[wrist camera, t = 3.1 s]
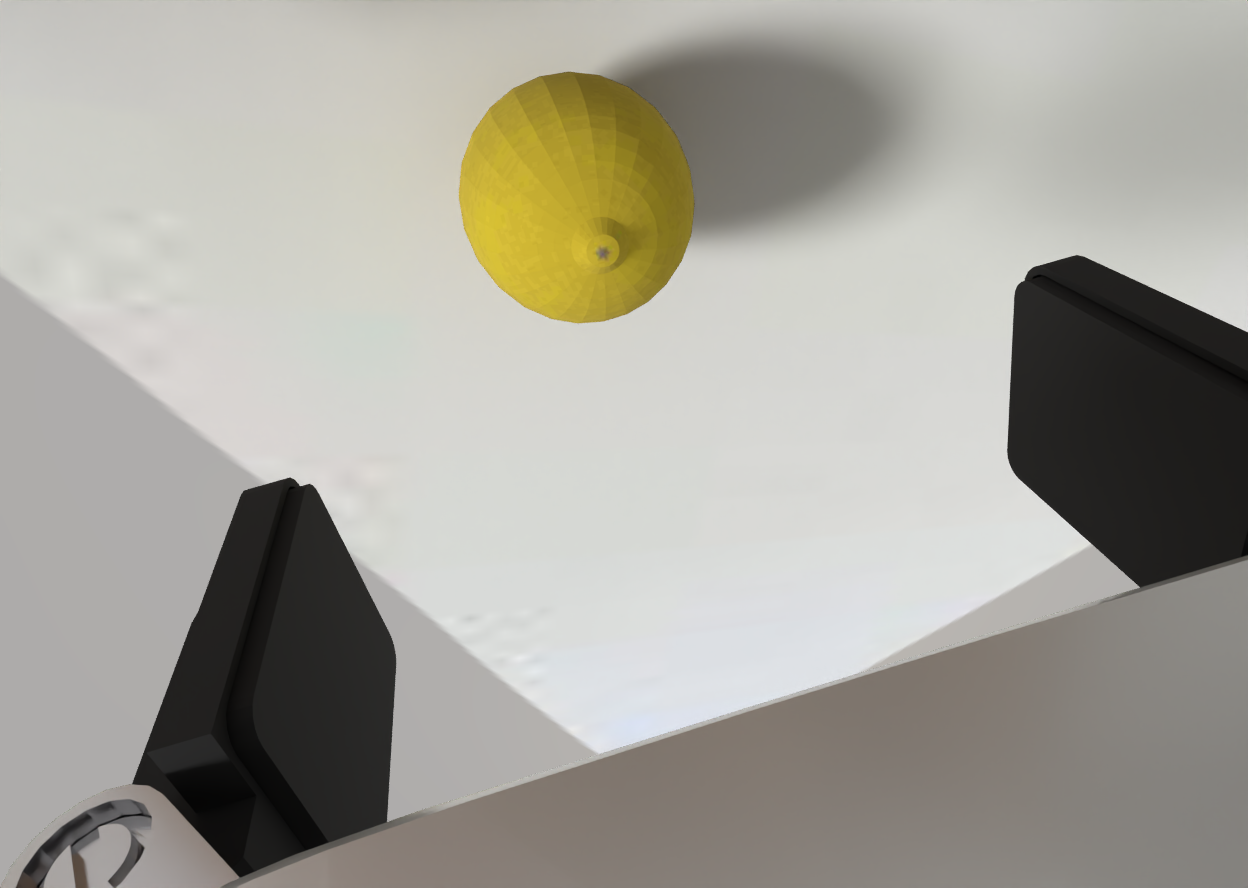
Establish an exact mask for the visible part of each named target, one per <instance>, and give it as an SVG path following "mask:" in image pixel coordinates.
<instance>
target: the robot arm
mask: <svg viewBox="0 0 1248 888" xmlns="http://www.w3.org/2000/svg"><path fill="white" fill-rule="evenodd" d="M1007 452H1008V459H1009V463H1010V466H1011V468H1012V470H1013V472H1014V473H1015V475H1016V476H1017V477H1018V478H1019V479H1020V480H1021V481H1022V482H1023V483H1024V484H1025V485H1027V486H1028V487H1029V488H1030V489H1031V490H1032V491H1033V492H1034V493H1035V494H1037V495H1038V496H1039V497H1040V498H1041V499H1042V500H1043V501H1044V502H1045V503H1047V504H1048V505H1049V506H1050V507H1051V508H1052V509H1053V510H1054V511H1056V512H1057V513H1058V514H1059V515H1060V516H1061V517H1062V518H1063V519H1064V520H1066V521H1067V522H1068V523H1069V524H1070V525H1071V526H1072V527H1073V528H1075V529H1076V530H1077V531H1078V532H1079V533H1080V534H1081V535H1082V536H1083V537H1085V538H1086V539H1087V540H1088V541H1089V542H1090V543H1091V544H1092V545H1094V546H1095V547H1096V548H1097V549H1098V550H1099V551H1100V552H1101V553H1103V554H1104V555H1105V556H1106V557H1107V558H1108V559H1109V560H1110V561H1111V562H1112V563H1114V564H1115V565H1116V566H1117V567H1118V568H1119V569H1120V570H1121V571H1123V572H1124V573H1125V574H1126V575H1127V576H1128V577H1129V578H1130V579H1132V580H1133V581H1134V582H1135V583H1136V584H1137V585H1138V586H1139V587H1140V588H1138V589H1134V590H1131V591H1127V592H1124V593H1121V594H1117V595H1114V596H1111V597H1107V598H1105V599H1101V600H1098V601H1095V602H1091V603H1088V604H1084V605H1081V606H1078V607H1074V608H1071V609H1068V610H1064V611H1061V612H1058V613H1054V614H1051V615H1048V616H1044V617H1041V618H1038V619H1034V620H1031V621H1028V622H1025V623H1021V624H1018V625H1015V626H1011V627H1008V628H1005V629H1002V630H998V631H995V632H992V633H989V634H986V635H982V636H979V637H976V638H972V639H969V640H966V641H962V642H959V643H956V644H953V645H949V646H946V647H943V648H940V649H937V650H933V651H930V652H927V653H923V654H920V655H917V656H914V657H910V658H907V659H904V660H900V661H897V662H894V663H891V664H887V665H884V666H881V667H878V668H874V669H871V670H868V671H865V672H861V673H858V674H855V675H852V676H849V677H845V678H842V679H839V680H836V681H832V682H829V683H826V684H823V685H819V686H816V687H813V688H810V689H806V690H803V691H800V692H797V693H793V694H790V695H787V696H784V697H780V698H777V699H774V700H771V701H767V702H764V703H761V704H758V705H755V706H751V707H748V708H745V709H742V710H739V711H735V712H732V713H729V714H726V715H723V716H719V717H716V718H713V719H710V720H707V721H703V722H700V723H697V724H694V725H691V726H687V727H684V728H681V729H678V730H675V731H672V732H668V733H665V734H662V735H659V736H656V737H652V738H649V739H646V740H643V741H640V742H636V743H633V744H630V745H627V746H624V747H621V748H617V749H614V750H611V751H608V752H605V753H601V754H598V755H595V756H592V757H589V758H585V759H582V760H579V761H576V762H573V763H570V764H566V765H563V766H560V767H557V768H554V769H550V770H547V771H544V772H541V773H538V774H534V775H531V776H528V777H525V778H522V779H519V780H515V781H513V782H509V783H506V784H503V785H500V786H496V787H493V788H490V789H487V790H484V791H481V792H477V793H475V794H471V795H468V796H465V797H462V798H458V799H455V800H452V801H449V802H446V803H443V804H439V805H436V806H433V807H430V808H427V809H424V810H421V811H417V812H415V813H412V814H409V815H406V816H404V817H400V818H397V819H395V820H392V821H389V822H387V810H388V793H389V777H390V760H391V759H390V758H391V742H392V726H393V708H394V691H395V675H396V654H395V649H394V644H393V641H392V638H391V636H390V634H389V631H388V629H387V627H386V625H385V623H384V622H383V619H382V618H381V616H380V614H379V612H378V610H377V608H376V606H375V604H374V602H373V600H372V598H371V596H370V594H369V592H368V590H367V588H366V586H365V584H364V582H363V580H362V578H361V576H360V574H359V572H358V570H357V568H356V566H355V565H354V562H353V560H352V558H351V556H350V554H349V552H348V550H347V548H346V546H345V544H344V542H343V541H342V539H341V537H340V535H339V533H338V531H337V529H336V527H335V525H334V523H333V521H332V519H331V517H330V515H329V513H328V511H327V509H326V507H325V505H324V503H323V501H322V499H321V497H320V495H319V493H318V492H317V490H316V489H315V487H314V486H313V485H311V484H307V485H304V486H299V484H298V483H297V482H296V481H295V480H294V479H292V478H287V479H283V480H280V481H276V482H273V483H269V484H265V485H262V486H258V487H255V488H251V489H248V490H245V491H243V493H242V494H241V497H240V499H239V502H238V505H237V508H236V510H235V513H234V515H233V518H232V521H231V524H230V526H229V529H228V532H227V535H226V537H225V540H224V543H223V545H222V548H221V551H220V554H219V557H218V559H217V562H216V565H215V567H214V570H213V573H212V575H211V578H210V581H209V584H208V587H207V589H206V592H205V595H204V597H203V600H202V603H201V606H200V608H199V611H198V613H197V615H196V617H195V618H194V620H193V622H192V624H191V626H190V629H189V632H188V634H187V637H186V640H185V642H184V645H183V648H182V651H181V654H180V656H179V659H178V661H177V664H176V667H175V670H174V672H173V675H172V678H171V680H170V683H169V686H168V689H167V691H166V694H165V697H164V699H163V702H162V705H161V707H160V710H159V713H158V715H157V718H156V721H155V724H154V726H153V729H152V732H151V734H150V737H149V740H148V742H147V745H146V748H145V751H144V753H143V756H142V759H141V762H140V764H139V767H138V769H137V772H136V775H135V778H134V780H133V783H132V784H129V785H125V786H121V787H116V788H112V789H108V790H105V791H103V792H101V793H99V794H96V795H94V796H92V797H90V798H88V799H86V800H83V801H81V802H80V803H78V804H77V805H75V806H74V807H72V808H71V809H69V810H68V811H66V812H65V813H63V814H62V815H60V816H59V817H58V818H56V819H55V820H54V821H53V822H51V823H50V825H48V826H47V827H46V828H45V829H44V830H43V831H42V832H41V833H39V834H38V835H37V836H36V837H35V838H34V839H33V840H32V841H31V842H30V843H29V845H28V846H27V847H26V848H25V849H24V851H23V852H22V853H21V854H20V856H19V857H18V858H17V859H16V861H15V862H14V863H13V864H12V866H11V868H10V869H9V871H8V873H7V875H6V877H5V879H4V880H3V882H2V884H1V886H0V888H1248V332H1246V331H1243V330H1241V329H1239V328H1237V327H1235V326H1233V325H1231V324H1228V323H1226V322H1224V321H1222V320H1220V319H1218V318H1215V317H1213V316H1211V315H1209V314H1207V313H1205V312H1202V311H1200V310H1198V309H1196V308H1194V307H1192V306H1189V305H1187V304H1185V303H1183V302H1181V301H1179V300H1176V299H1174V298H1172V297H1170V296H1168V295H1166V294H1163V293H1161V292H1159V291H1157V290H1155V289H1153V288H1150V287H1148V286H1146V285H1144V284H1142V283H1140V282H1137V281H1135V280H1133V279H1131V278H1129V277H1127V276H1125V275H1122V274H1120V273H1118V272H1116V271H1114V270H1112V269H1109V268H1107V267H1105V266H1103V265H1101V264H1099V263H1096V262H1094V261H1092V260H1090V259H1088V258H1086V257H1083V256H1079V255H1076V256H1072V257H1068V258H1064V259H1061V260H1057V261H1054V262H1050V263H1047V264H1043V265H1040V266H1036V267H1033V268H1032V269H1031V270H1030V271H1028V273H1027V275H1026V277H1025V281H1023V282H1021V283H1020V284H1019V285H1018V286H1017V288H1016V290H1015V297H1014V318H1013V340H1012V361H1011V383H1010V404H1009V426H1008V448H1007Z"/></svg>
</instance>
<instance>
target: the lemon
mask: <svg viewBox="0 0 1248 888" xmlns="http://www.w3.org/2000/svg"><path fill="white" fill-rule="evenodd" d="M459 200H460V207H461V213H462V219H463V225H464V229H465V232H466V234H467V236H468V239H469V241H470V243H471V246H472V248H473V250H474V253H475V255H476V257H477V259H478V261H479V262H480V264H481V265H482V266H483V267H484V269H485V270H486V271H487V273H488V274H489V275H490V276H491V278H492V279H493V280H494V282H495V283H496V284H497V285H498V287H499V288H501V289H502V290H503V291H504V292H506V293H507V294H508V295H510V296H511V297H512V298H513V299H515V300H516V301H517V302H519V303H520V304H521V305H523V306H524V307H526V308H528V309H530V310H532V311H535V312H537V313H539V314H542V315H544V316H546V317H548V318H551V319H555V320H561V321H567V322H573V323H588V322H602V321H606V320H609V319H613V318H616V317H619V316H622V315H626V314H628V313H630V312H631V311H633V310H635V309H636V308H638V307H640V306H642V305H643V304H645V303H647V302H648V301H649V300H650V299H651V298H653V297H654V296H655V295H656V294H657V293H658V292H659V291H660V290H661V289H662V288H663V287H664V286H665V285H666V284H667V282H668V281H669V279H670V278H671V276H672V275H673V273H674V272H675V270H676V269H677V267H678V266H679V264H680V263H681V261H682V259H683V256H684V253H685V251H686V248H687V245H688V242H689V240H690V237H691V232H692V223H693V214H694V195H693V187H692V180H691V173H690V168H689V165H688V163H687V160H686V158H685V155H684V153H683V150H682V148H681V145H680V143H679V140H678V138H677V136H676V134H675V133H674V132H673V130H672V129H671V128H670V126H669V125H668V124H667V122H666V121H665V120H664V118H663V117H662V116H661V114H660V113H659V112H658V111H657V109H656V108H655V107H654V106H652V105H651V104H650V103H648V102H647V101H646V100H645V99H643V98H642V97H641V96H639V95H638V94H637V93H636V92H634V91H633V90H632V89H630V88H629V87H627V86H624V85H622V84H619V83H617V82H615V81H612V80H610V79H607V78H605V77H603V76H600V75H592V74H584V73H575V72H564V73H558V74H552V75H546V76H540V77H537V78H535V79H533V80H531V81H529V82H526V83H524V84H522V85H520V86H518V87H515V88H513V89H512V90H511V91H509V92H508V93H507V94H506V95H505V96H503V97H502V98H501V99H500V100H499V101H498V102H496V103H495V104H494V105H493V106H492V107H490V109H489V110H488V111H487V113H486V114H485V116H484V117H483V119H482V120H481V122H480V123H479V124H478V126H477V127H476V129H475V130H474V132H473V134H472V136H471V139H470V142H469V145H468V147H467V150H466V153H465V156H464V158H463V161H462V166H461V176H460V187H459Z"/></svg>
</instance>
